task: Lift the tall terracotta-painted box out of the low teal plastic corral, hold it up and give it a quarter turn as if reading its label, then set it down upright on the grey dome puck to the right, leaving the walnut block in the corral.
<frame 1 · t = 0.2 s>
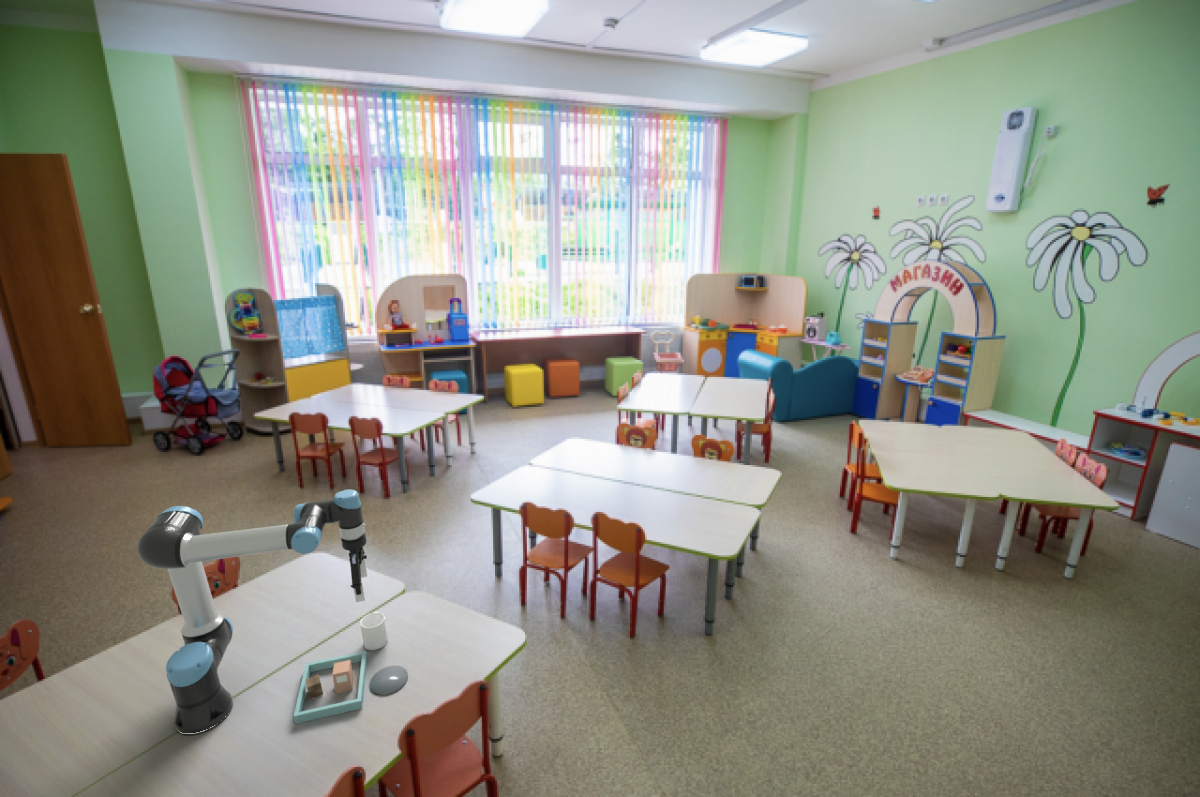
hand: (361, 588, 197), 27 cm above the table, fingers open, 13 cm apart
walnut block: (315, 692, 189), resting in corral
corral: (333, 688, 190), on the table
painted box: (345, 686, 191), resting in corral
cup: (377, 639, 212), on the table
grey dome puck: (389, 680, 193), on the table
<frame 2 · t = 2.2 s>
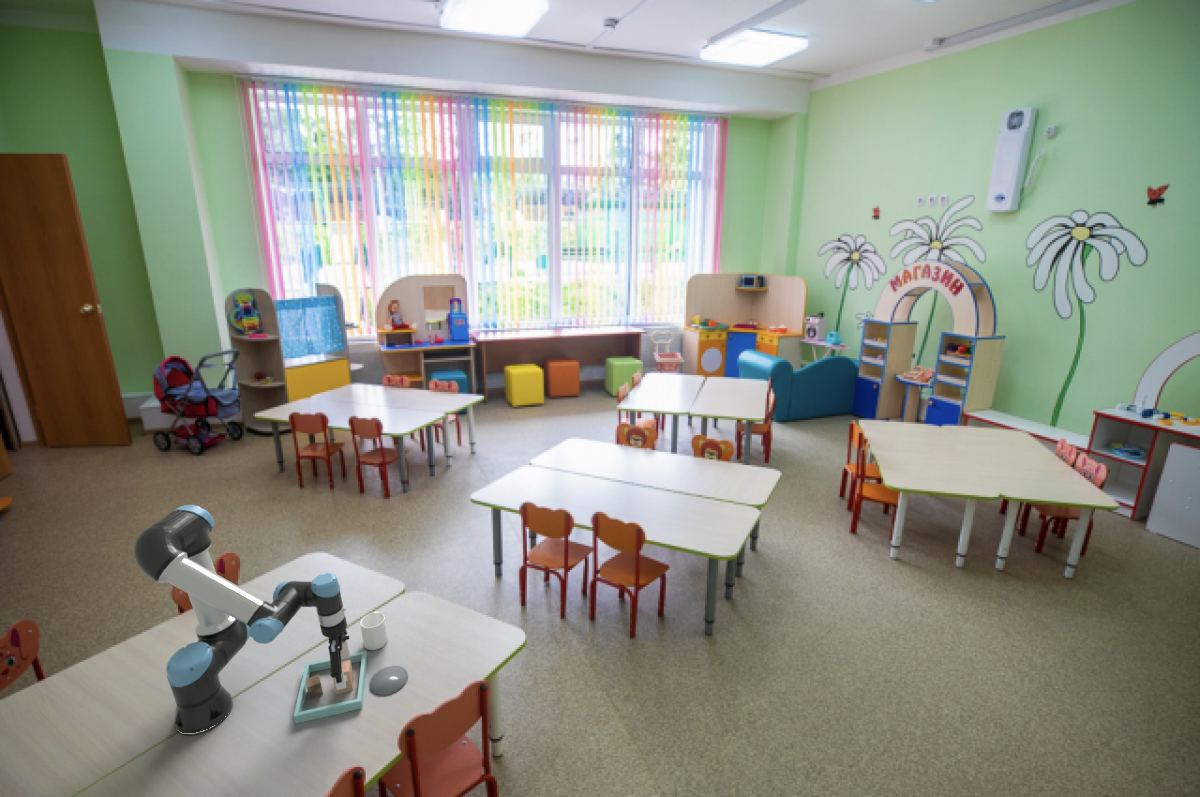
hand: (343, 672, 189), 6 cm above the table, fingers open, 13 cm apart
nothing on the table moved.
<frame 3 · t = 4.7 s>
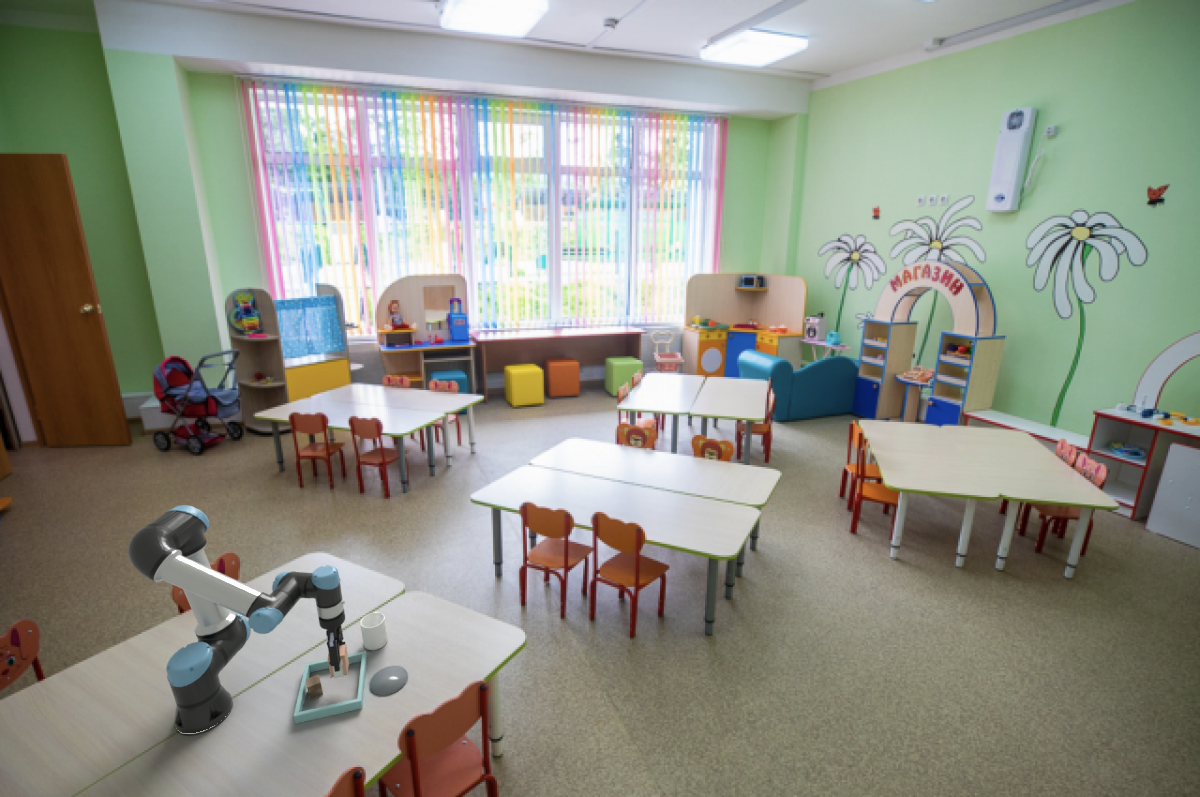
hand: (340, 669, 189), 7 cm above the table, fingers closed on painted box, 5 cm apart
painted box: (340, 670, 189), point 6 cm above the table, touching gripper
everything else where it was.
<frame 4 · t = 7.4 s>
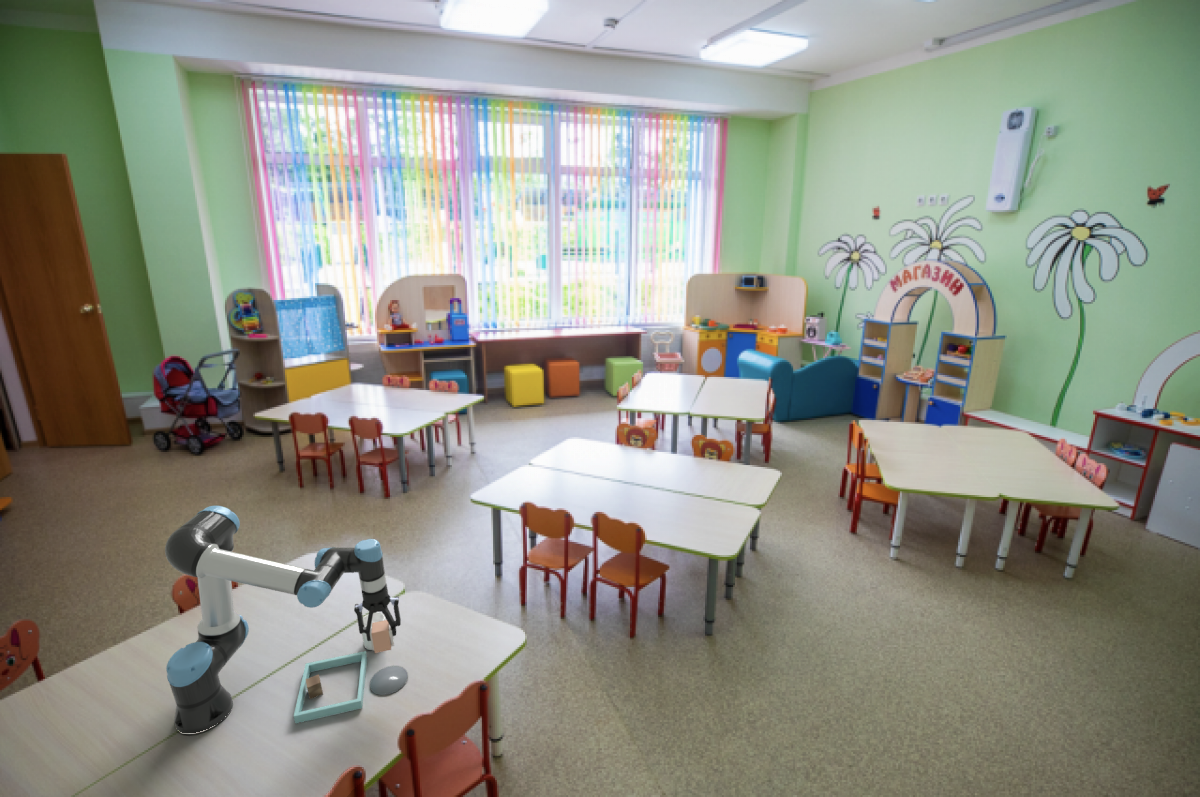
hand: (383, 645, 188), 15 cm above the table, fingers closed on painted box, 5 cm apart
painted box: (383, 646, 188), point 15 cm above the table, touching gripper
everything else where it was.
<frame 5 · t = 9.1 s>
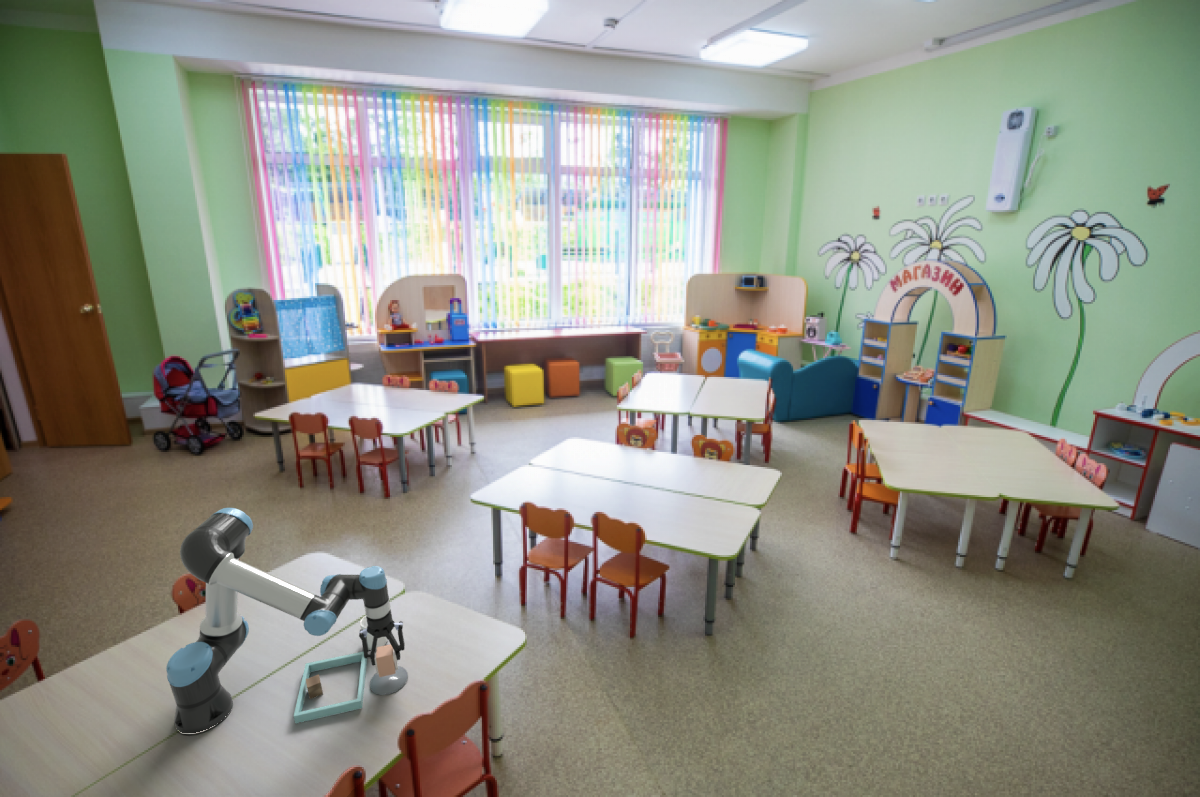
hand: (387, 669, 192), 5 cm above the table, fingers closed on painted box, 5 cm apart
painted box: (387, 669, 192), point 5 cm above the table, touching gripper
everything else where it was.
when the fingers open (2 cm above the table, at t = 10.5 s): painted box stays where it is, resting on grey dome puck.
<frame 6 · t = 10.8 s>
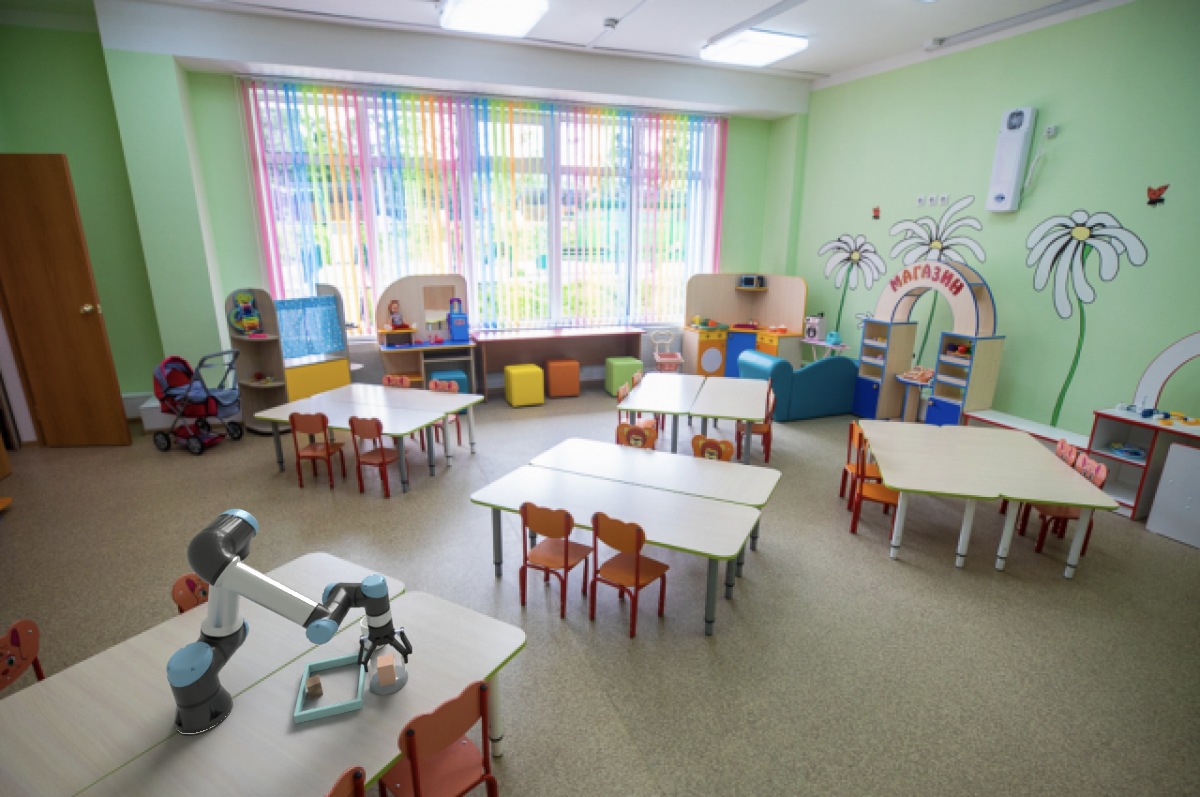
hand: (388, 674, 192), 3 cm above the table, fingers open, 10 cm apart
painted box: (388, 679, 193), point 1 cm above the table, touching grey dome puck
everything else where it was.
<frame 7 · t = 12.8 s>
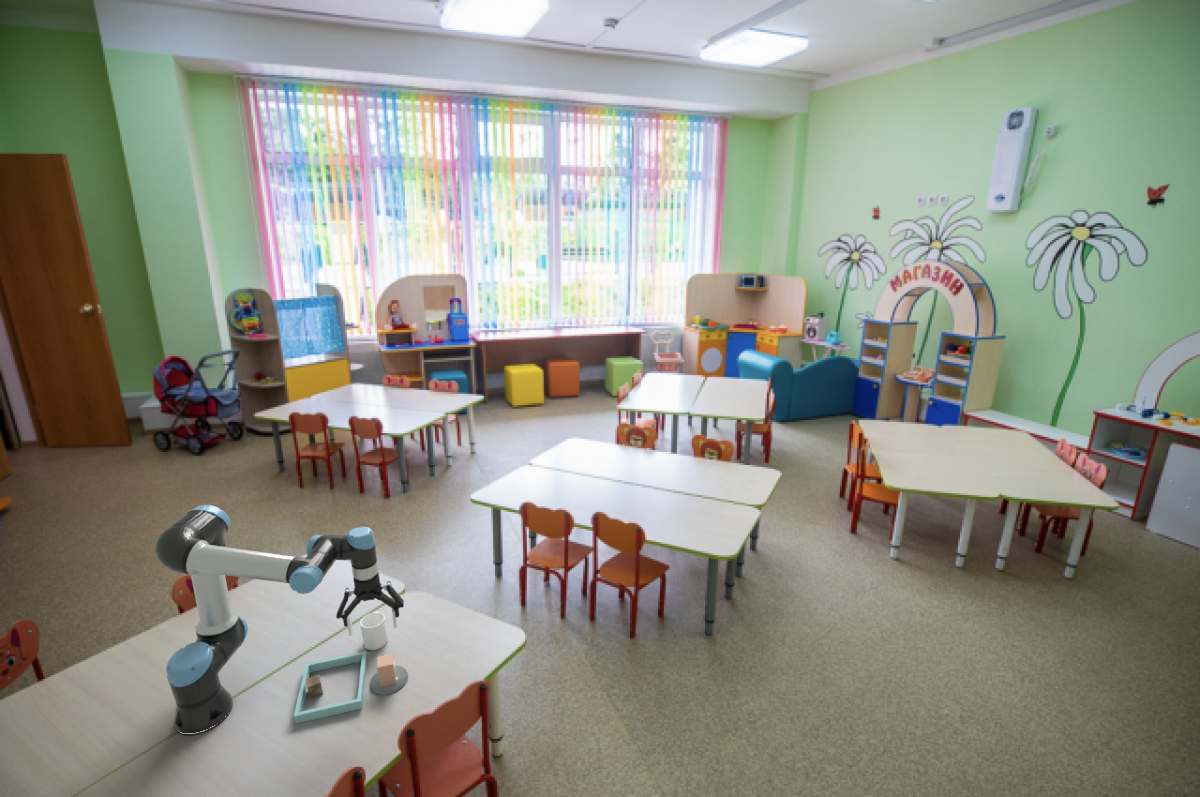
hand: (373, 628, 187), 21 cm above the table, fingers open, 13 cm apart
nothing on the table moved.
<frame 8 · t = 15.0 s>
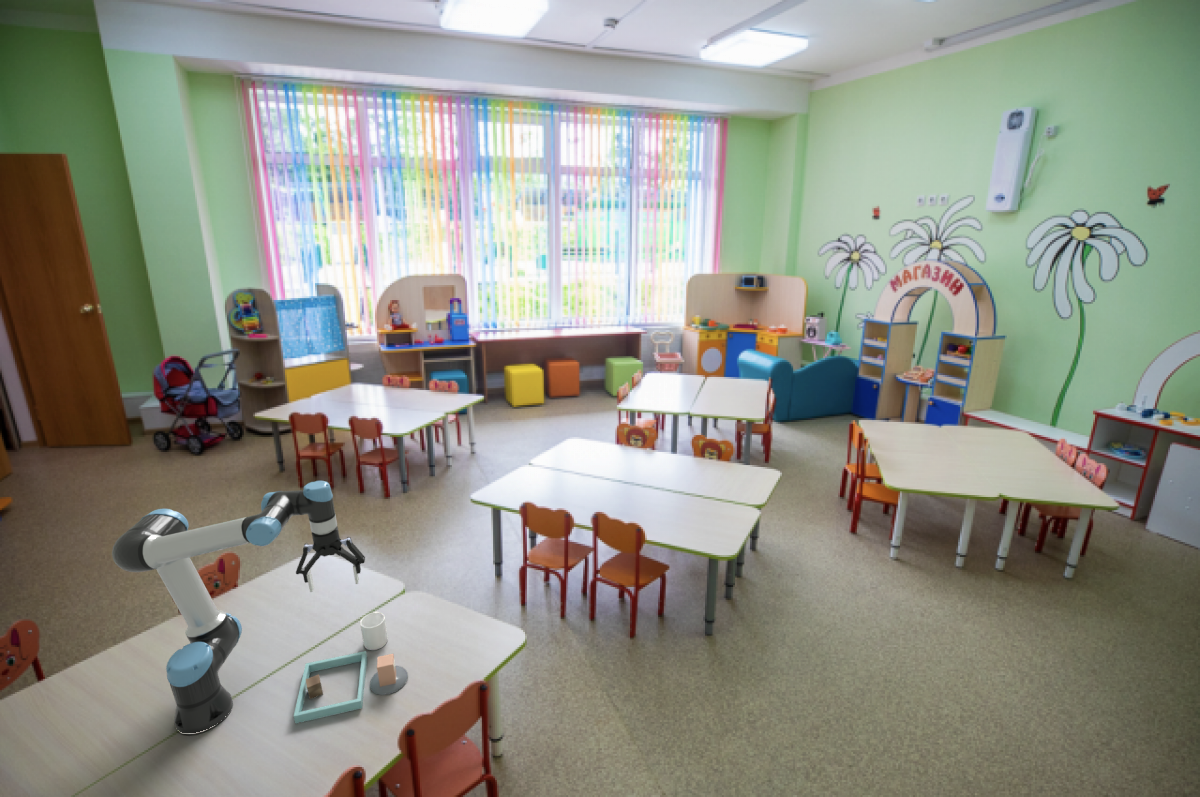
hand: (334, 585, 186), 35 cm above the table, fingers open, 13 cm apart
nothing on the table moved.
at the end: painted box inside the target area on the grey dome puck (0.2 cm from its centre), point 0.6 cm above the grey dome puck's base; painted box tilted 0°; the gripper is holding nothing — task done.
